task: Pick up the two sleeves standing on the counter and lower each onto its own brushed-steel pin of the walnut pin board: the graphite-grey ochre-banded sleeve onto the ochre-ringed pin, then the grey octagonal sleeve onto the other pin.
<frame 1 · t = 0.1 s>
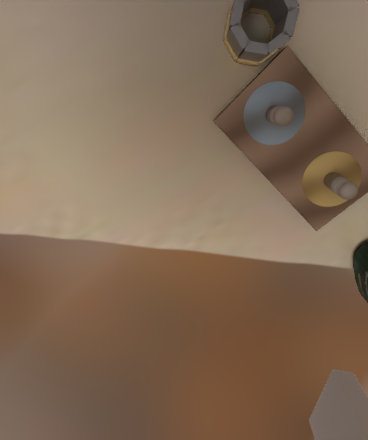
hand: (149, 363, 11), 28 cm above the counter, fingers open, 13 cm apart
pin board: (299, 146, 35), on the counter
sleeve ochre: (252, 34, 31), on the counter
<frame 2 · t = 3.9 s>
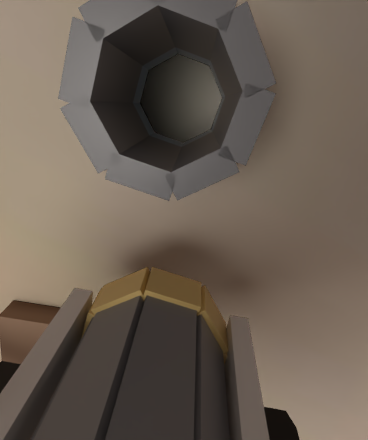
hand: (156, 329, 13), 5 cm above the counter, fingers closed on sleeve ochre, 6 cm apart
pin board: (87, 413, 22), on the counter
grey octagonal sleeve: (180, 100, 14), on the counter
sleeve ochre: (157, 326, 13), point 5 cm above the counter, touching gripper
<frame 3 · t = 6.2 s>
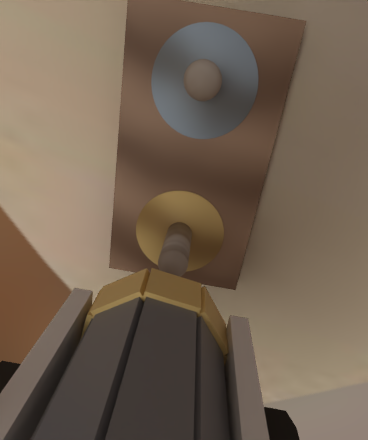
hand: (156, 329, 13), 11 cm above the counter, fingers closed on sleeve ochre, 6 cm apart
pin board: (191, 161, 22), on the counter
sleeve ochre: (157, 327, 13), point 11 cm above the counter, touching gripper
when the fingers open (2 cm above the counter, at t = 8.4 s): sleeve ochre stays where it is, resting on pin board.
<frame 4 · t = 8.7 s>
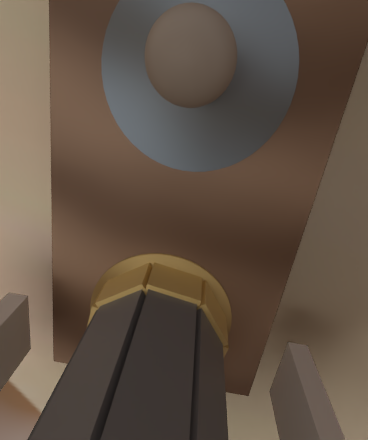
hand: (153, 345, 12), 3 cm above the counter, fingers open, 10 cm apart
pin board: (179, 202, 13), on the counter
sleeve ochre: (159, 320, 14), point 2 cm above the counter, touching pin board
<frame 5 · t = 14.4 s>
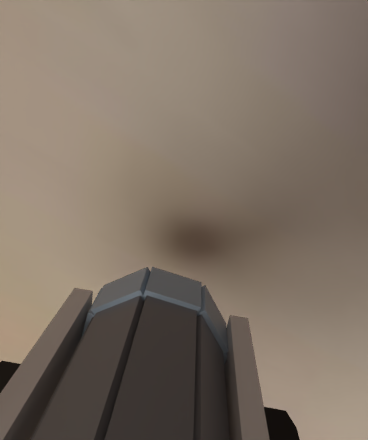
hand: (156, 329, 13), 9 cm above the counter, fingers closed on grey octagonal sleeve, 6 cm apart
grey octagonal sleeve: (157, 326, 13), point 9 cm above the counter, touching gripper
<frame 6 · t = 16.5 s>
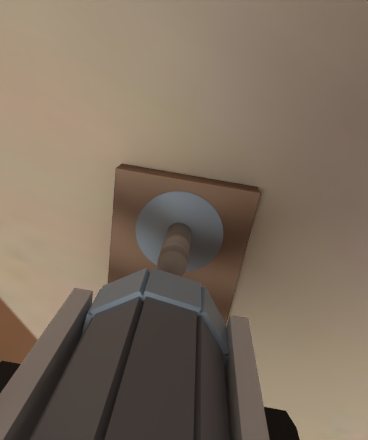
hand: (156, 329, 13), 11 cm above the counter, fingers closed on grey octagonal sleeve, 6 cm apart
pin board: (172, 279, 25), on the counter
grey octagonal sleeve: (157, 327, 13), point 11 cm above the counter, touching gripper
when the fingers open (2 cm above the counter, at t = 18.7 s): grey octagonal sleeve stays where it is, resting on pin board.
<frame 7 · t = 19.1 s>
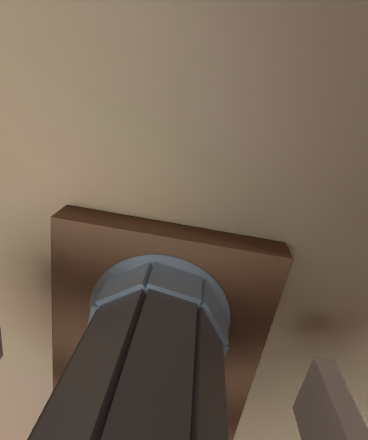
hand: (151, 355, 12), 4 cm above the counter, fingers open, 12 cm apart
pin board: (152, 368, 17), on the counter
grey octagonal sleeve: (159, 319, 14), point 2 cm above the counter, touching pin board
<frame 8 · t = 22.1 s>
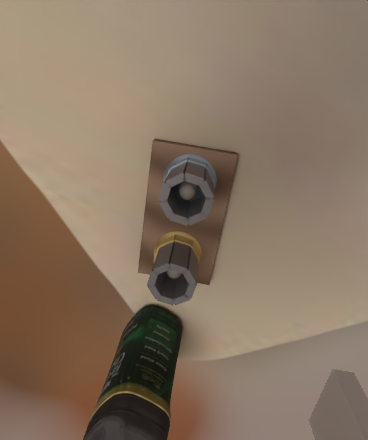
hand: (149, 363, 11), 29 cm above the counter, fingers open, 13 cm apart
pin board: (184, 214, 40), on the counter
grey octagonal sleeve: (190, 181, 36), point 2 cm above the counter, touching pin board
coffee jar: (152, 327, 47), on the counter
sleeve ochre: (177, 254, 40), point 2 cm above the counter, touching pin board
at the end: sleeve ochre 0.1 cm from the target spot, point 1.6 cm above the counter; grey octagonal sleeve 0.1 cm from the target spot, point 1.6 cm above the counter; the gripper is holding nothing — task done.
